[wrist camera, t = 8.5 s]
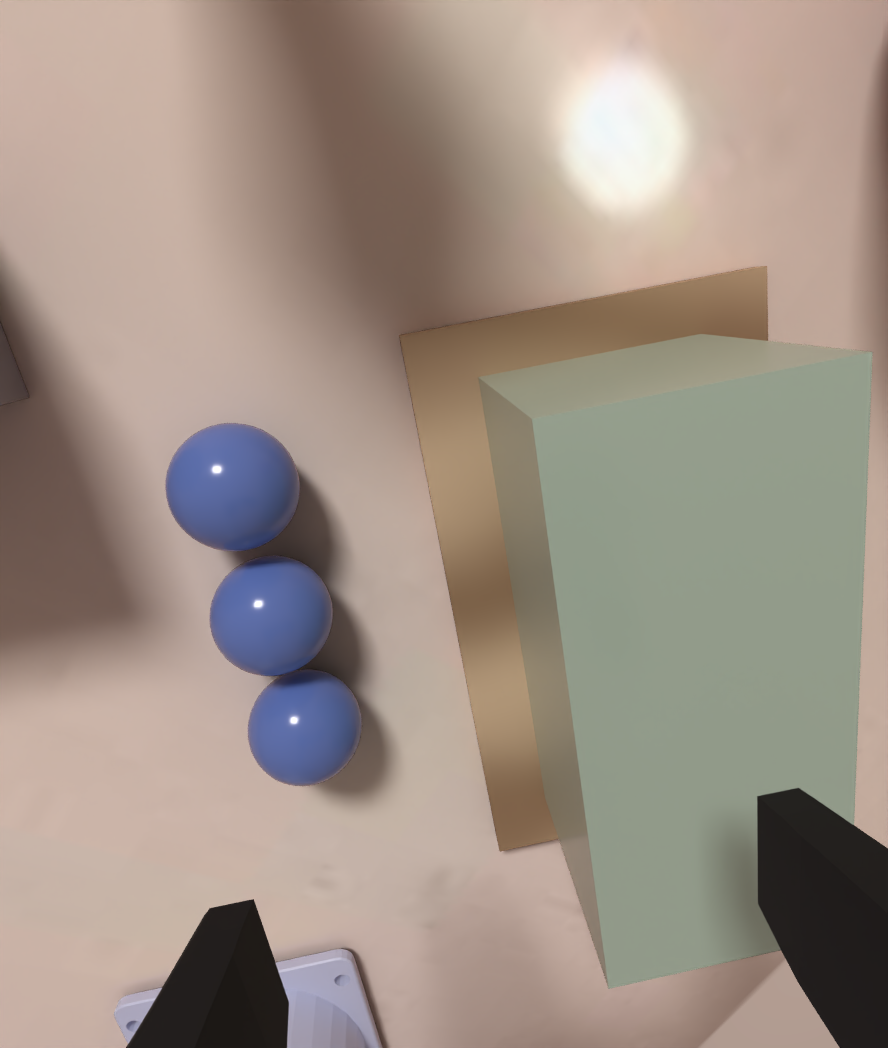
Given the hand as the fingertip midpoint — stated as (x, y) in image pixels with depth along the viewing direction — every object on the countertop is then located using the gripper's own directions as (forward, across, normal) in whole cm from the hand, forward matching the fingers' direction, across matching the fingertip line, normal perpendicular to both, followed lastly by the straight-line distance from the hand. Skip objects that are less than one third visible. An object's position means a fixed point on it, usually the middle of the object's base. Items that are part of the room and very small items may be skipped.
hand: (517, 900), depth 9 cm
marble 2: (+10, +4, -1) cm, 11 cm away
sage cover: (+9, -5, 0) cm, 10 cm away
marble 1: (+10, +4, -5) cm, 12 cm away
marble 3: (+10, +4, +2) cm, 11 cm away
